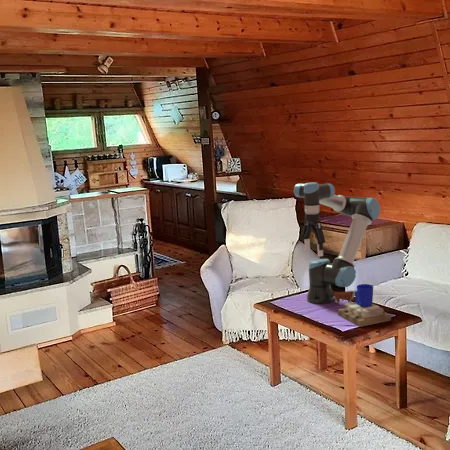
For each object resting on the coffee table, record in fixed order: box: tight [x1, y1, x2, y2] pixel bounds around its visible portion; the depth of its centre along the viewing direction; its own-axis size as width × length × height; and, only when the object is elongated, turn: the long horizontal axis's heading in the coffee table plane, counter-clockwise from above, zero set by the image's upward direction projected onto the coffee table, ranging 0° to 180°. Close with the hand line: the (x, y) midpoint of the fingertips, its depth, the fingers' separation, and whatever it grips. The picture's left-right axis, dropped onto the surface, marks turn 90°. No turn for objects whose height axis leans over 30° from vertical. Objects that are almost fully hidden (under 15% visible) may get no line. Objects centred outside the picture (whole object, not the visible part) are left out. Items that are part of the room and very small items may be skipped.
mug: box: [354, 283, 374, 307], centre depth 286 cm, size 8×12×10 cm
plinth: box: [337, 301, 392, 328], centre depth 287 cm, size 20×18×6 cm
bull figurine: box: [333, 289, 357, 306], centre depth 309 cm, size 4×13×8 cm, turn 78°
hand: (313, 253), depth 291 cm, fingers open, 13 cm apart
